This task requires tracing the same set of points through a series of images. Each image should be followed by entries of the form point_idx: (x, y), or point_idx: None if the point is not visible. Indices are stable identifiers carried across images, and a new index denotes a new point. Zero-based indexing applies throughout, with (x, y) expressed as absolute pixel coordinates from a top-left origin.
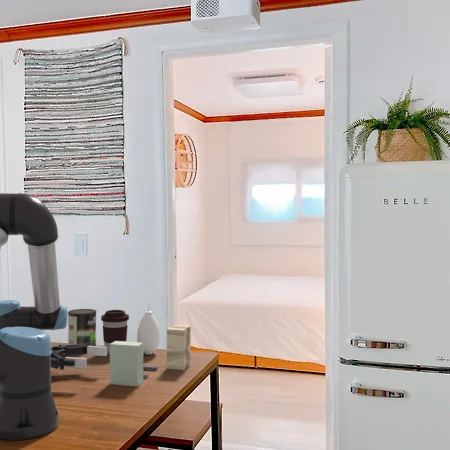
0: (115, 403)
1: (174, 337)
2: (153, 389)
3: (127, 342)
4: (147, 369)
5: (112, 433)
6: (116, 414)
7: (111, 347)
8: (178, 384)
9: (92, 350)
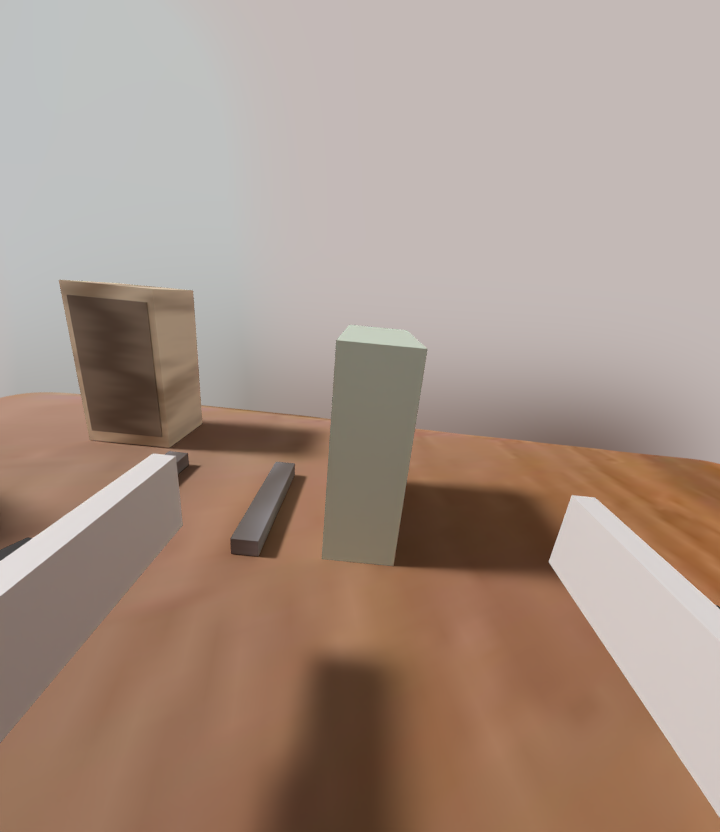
0: None
1: (174, 322)
2: None
3: (359, 332)
4: None
5: (709, 477)
6: (628, 488)
7: (423, 368)
8: None
9: (58, 607)
